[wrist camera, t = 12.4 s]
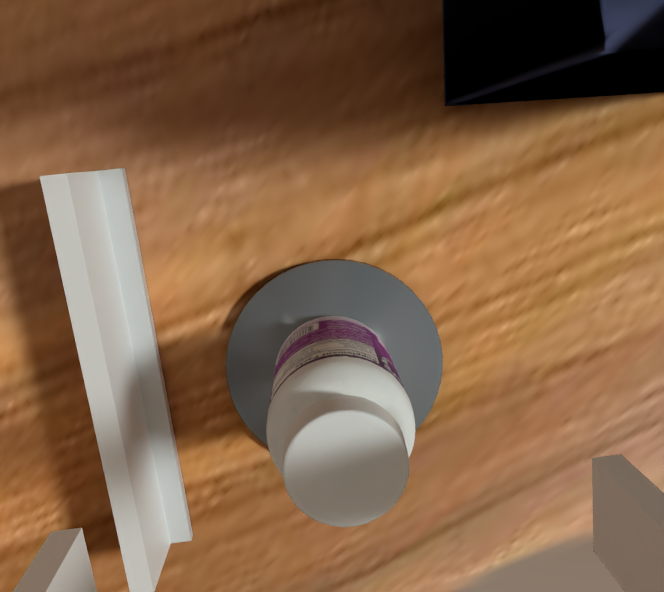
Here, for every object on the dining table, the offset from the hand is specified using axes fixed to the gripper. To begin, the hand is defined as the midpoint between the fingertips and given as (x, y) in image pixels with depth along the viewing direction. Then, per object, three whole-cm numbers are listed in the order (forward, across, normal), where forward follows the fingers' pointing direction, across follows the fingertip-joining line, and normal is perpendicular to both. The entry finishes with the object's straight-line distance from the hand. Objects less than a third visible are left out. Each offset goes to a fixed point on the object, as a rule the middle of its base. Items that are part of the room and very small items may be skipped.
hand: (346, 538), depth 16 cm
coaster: (+14, +1, 0) cm, 14 cm away
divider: (+14, -9, +1) cm, 16 cm away
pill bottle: (+13, 0, 0) cm, 13 cm away
